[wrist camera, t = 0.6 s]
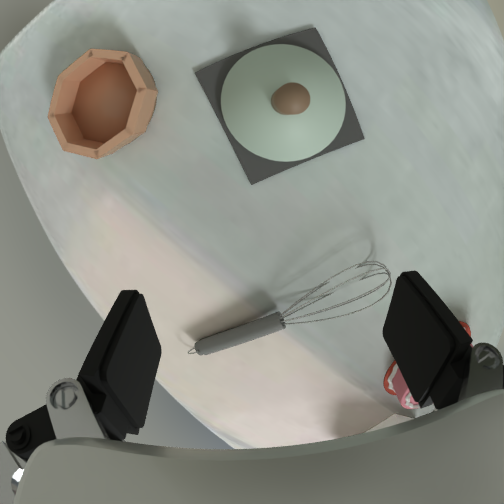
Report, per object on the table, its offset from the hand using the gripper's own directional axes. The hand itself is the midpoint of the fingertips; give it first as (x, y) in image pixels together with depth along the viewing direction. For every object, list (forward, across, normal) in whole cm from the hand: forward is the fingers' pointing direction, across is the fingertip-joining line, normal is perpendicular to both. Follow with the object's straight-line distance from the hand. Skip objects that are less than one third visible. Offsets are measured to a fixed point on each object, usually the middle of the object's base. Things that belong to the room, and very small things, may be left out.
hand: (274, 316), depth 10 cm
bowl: (+25, +16, -11) cm, 32 cm away
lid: (+25, -4, -8) cm, 27 cm away
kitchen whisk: (+26, -4, +21) cm, 33 cm away
